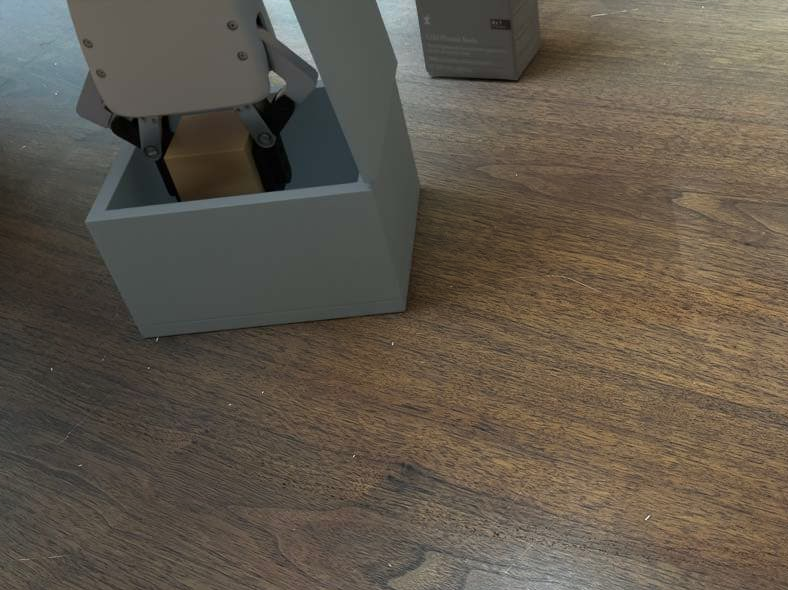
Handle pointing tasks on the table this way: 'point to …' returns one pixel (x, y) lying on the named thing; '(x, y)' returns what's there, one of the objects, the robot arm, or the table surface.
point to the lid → (353, 71)
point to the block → (212, 157)
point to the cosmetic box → (478, 37)
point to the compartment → (265, 234)
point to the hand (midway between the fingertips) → (235, 194)
